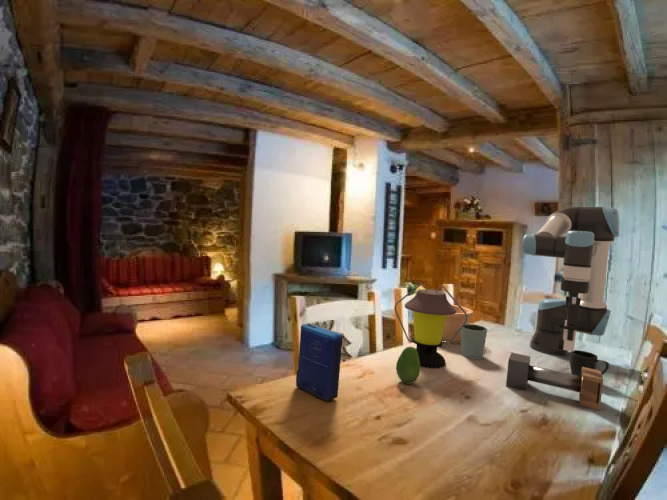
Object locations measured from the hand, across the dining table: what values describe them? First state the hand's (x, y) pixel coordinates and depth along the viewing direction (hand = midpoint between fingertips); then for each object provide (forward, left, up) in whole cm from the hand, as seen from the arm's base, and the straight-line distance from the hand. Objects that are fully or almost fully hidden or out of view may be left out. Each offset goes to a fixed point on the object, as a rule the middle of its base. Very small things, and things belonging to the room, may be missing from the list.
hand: (568, 345), depth 123 cm
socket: (0, +7, -17) cm, 18 cm away
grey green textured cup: (-21, -32, -17) cm, 42 cm away
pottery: (-39, -47, -17) cm, 63 cm away
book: (+49, -63, -17) cm, 82 cm away
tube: (0, -3, -14) cm, 15 cm away
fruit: (+23, -44, -17) cm, 53 cm away
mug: (-21, +8, -17) cm, 28 cm away
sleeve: (0, -13, -17) cm, 21 cm away
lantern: (-1, -45, -17) cm, 48 cm away
